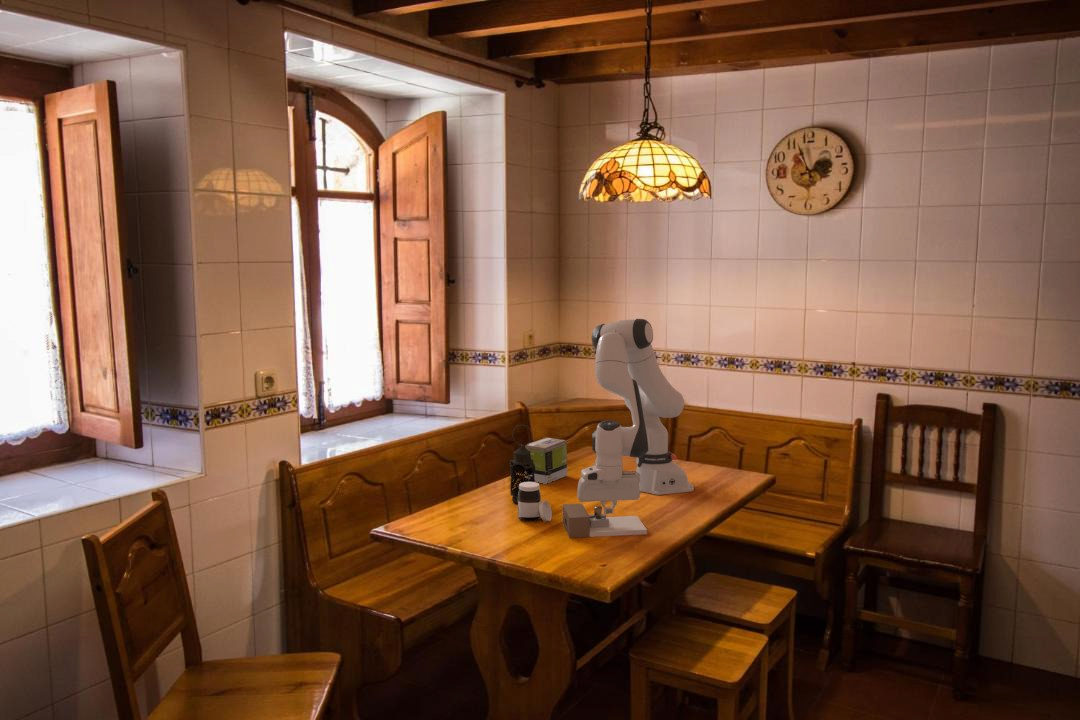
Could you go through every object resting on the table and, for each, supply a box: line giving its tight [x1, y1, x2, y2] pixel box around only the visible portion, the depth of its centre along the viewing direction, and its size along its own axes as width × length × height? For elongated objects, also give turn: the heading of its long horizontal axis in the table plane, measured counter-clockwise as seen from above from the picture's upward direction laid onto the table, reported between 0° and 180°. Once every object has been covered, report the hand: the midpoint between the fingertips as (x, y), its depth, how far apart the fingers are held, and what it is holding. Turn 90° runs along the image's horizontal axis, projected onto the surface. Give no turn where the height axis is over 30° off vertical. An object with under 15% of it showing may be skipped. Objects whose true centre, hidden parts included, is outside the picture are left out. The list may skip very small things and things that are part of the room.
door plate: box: [562, 503, 648, 539], centre depth 280 cm, size 25×14×6 cm, turn 97°
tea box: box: [524, 437, 568, 485], centre depth 338 cm, size 15×10×15 cm, turn 144°
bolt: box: [590, 505, 604, 519], centre depth 279 cm, size 10×2×6 cm, turn 97°
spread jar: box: [517, 482, 553, 523], centre depth 290 cm, size 12×11×12 cm
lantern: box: [509, 424, 536, 504], centre depth 308 cm, size 10×9×28 cm
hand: (608, 513), depth 280 cm, fingers closed
